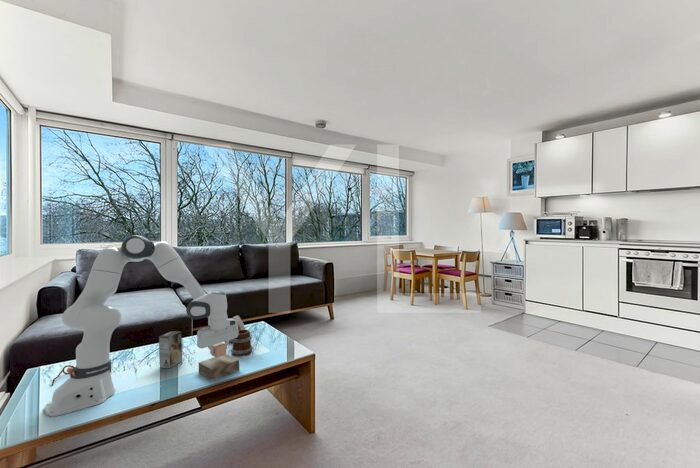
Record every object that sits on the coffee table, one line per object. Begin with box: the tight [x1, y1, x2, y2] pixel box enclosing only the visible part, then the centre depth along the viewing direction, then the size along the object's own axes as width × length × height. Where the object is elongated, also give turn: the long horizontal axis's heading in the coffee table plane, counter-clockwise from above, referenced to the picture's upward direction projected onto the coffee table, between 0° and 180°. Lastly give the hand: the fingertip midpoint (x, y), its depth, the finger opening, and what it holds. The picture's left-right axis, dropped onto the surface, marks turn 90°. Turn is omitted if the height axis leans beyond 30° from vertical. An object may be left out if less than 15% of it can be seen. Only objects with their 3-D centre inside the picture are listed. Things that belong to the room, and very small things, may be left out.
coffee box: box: [158, 330, 183, 369], centre depth 168 cm, size 9×6×16 cm
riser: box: [198, 353, 240, 381], centre depth 159 cm, size 14×13×5 cm
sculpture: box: [229, 315, 246, 343], centre depth 205 cm, size 13×12×15 cm
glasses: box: [50, 364, 75, 387], centre depth 155 cm, size 13×13×5 cm
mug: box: [230, 326, 254, 357], centre depth 184 cm, size 12×14×15 cm
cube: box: [211, 342, 227, 358], centre depth 159 cm, size 5×5×5 cm
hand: (218, 351), depth 159 cm, fingers closed on cube, 5 cm apart
